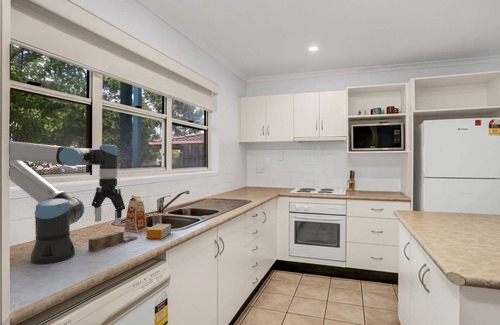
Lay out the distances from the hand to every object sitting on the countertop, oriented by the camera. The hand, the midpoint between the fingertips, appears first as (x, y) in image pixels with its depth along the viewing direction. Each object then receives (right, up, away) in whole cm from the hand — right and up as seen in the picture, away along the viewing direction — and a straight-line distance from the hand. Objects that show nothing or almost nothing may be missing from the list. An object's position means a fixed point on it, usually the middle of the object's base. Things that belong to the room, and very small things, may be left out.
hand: (107, 223), depth 136 cm
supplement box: (+18, -8, +10) cm, 22 cm away
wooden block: (+2, -11, +2) cm, 11 cm away
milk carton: (+2, -10, +29) cm, 31 cm away
